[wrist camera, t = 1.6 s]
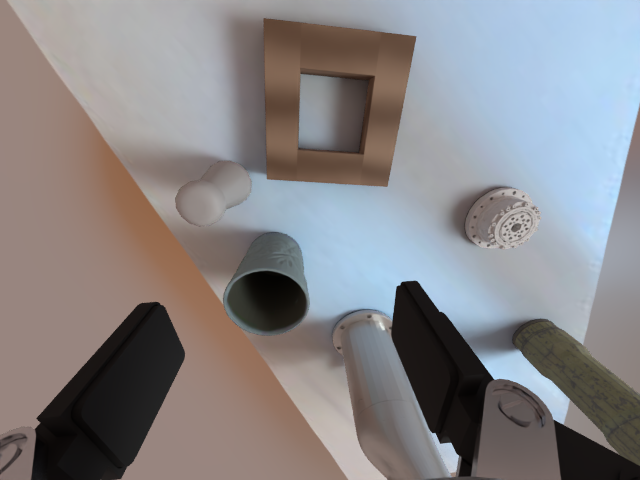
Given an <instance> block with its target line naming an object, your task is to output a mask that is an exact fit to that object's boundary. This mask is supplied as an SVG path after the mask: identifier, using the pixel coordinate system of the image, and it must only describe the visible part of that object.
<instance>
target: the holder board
mask: <svg viewBox="0 0 640 480" xmlns="http://www.w3.org/2000/svg"><path fill="white" fill-rule="evenodd" d="M415 41H416V36H409V35H401V34H392V33H384V32H375V31H367V30H359V29H350V28H342V27H333V26H325V25H316V24H308V23H300V22H291V21H283V20H274V19H266V18H264V63H265V109H266V156H267V179H271V180H287V181H304V182H320V183H336V184H352V185H369V186H385V187H387V186H388V181H389V175H390V170H391V165H392V160H393V155H394V150H395V144H396V139H397V134H398V129H399V124H400V118H401V113H402V108H403V103H404V98H405V93H406V87H407V82H408V77H409V72H410V67H411V62H412V56H413V51H414V46H415ZM300 74H309V75H319V76H329V77H339V78H349V79H359V80H369V82H368V90H367V97H366V105H365V112H364V120H363V127H362V135H361V142H360V149H359V153H356V152H342V151H329V150H315V149H301V148H298V135H299V103H300Z"/></svg>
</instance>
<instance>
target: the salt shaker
mask: <svg viewBox="0 0 640 480" xmlns="http://www.w3.org/2000/svg"><path fill="white" fill-rule="evenodd" d="M251 188H252V181H251V178H250V176H249V173H248V172H247V171H246V170H245V169H244V168H243V167H242V166H241V165H240V164H237V163H235V162H232V161H219V162H217V163H216V164H214V165H212V166H211V167H210V168H209V169H208V170H207V172H206V173H205V174H204V176H203V177H202V178H201V180H199V181H191V182H189V183H187V184H186V185H184V186H182V187H181V188H180V189H179V191H178V193H177V195H176V198H175V202H176V209H177V210H178V212H179V214H180V215H181V217H182V218H184V219H185V220H186V221H187V222H189V223H190V224H194V225H197V226H210V225H212V224H213V223H215V222H217V221H218V220H220V219H221V217H222V216H223V214H224V212H225V211H226V209H228V208H231V207H234V206H236V205H239V204H240V203H242V202H243V201H245V200H247V198H248V196H249V195H250V193H251Z"/></svg>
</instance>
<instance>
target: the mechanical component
mask: <svg viewBox="0 0 640 480" xmlns="http://www.w3.org/2000/svg"><path fill="white" fill-rule="evenodd" d="M540 214H541V212H540V211H538V207H536V206H535V205H533V204H532V200H531V199H530V197H529V195H528V194H526V193H525V192H523V191H522V190H518V189H515V188H509V187H504V188H498V189H495V190H492V191H490V192H488V193H487V194H485V195H484V196H482V197H481V198H479V199H478V200H477V201H476V202H475V204H474V205H473V206H472V208H471V209H470V211H469V213H468V215H467V218H466V222H465V230H466V234H467V236H468V238H469V239H470V240H471V241H472V242H473V243H475V244H477V245H478V246H480V247H483V248H501V249H503V250H504V249H508V248H513V247H514V248H517V247H518V245H523V244H524V243H523V242H525V241H526V242H527V241H529V238H530V236H531V235H532V234H533V233H534V231H537V230H538V228H537V226H538V223H539V220H541V217H540V216H539V215H540Z"/></svg>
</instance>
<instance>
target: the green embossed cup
mask: <svg viewBox="0 0 640 480" xmlns="http://www.w3.org/2000/svg"><path fill="white" fill-rule="evenodd" d="M223 303H224V308H225V310H226V313H227V315H228V316H229V317H230V319H231V320H232V321H233V322H234V323H235V324H236V325H238V326H239V327H240V328H242V329H243V330H245V331H248V332H250V333H254V334H257V335H266V336H271V335H278V334H283V333H286V332H288V331H290V330H292V329H294V328H295V327H297V326H298V325H299V324H300V323H301V322H302V321H303V320H304V318H305V317H306V315H307V313H308V310H309V305H310V301H309V294H308V289H307V282H306V279H305V276H304V266H303V257H302V252H301V249H300V247H299V245H298V243H297V242H296V241H295V240H294V239H293V238H291V237H290V236H288V235H287V234H282V233H267V234H264V235H261V236H260V237H258V238H257V239H256V240H255V241H254V242H253V243H252V245H251V246H250V248H249V250H248V252H247V255H246V256H245V257H244V259H243V261H242V262H241V264H240V265H239V267H238V269H237V271H236V273H235V274H234V276H233V278H232V279H231V281H230V282H229V284H228V286H227V287H226V289H225V292H224V298H223Z"/></svg>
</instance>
